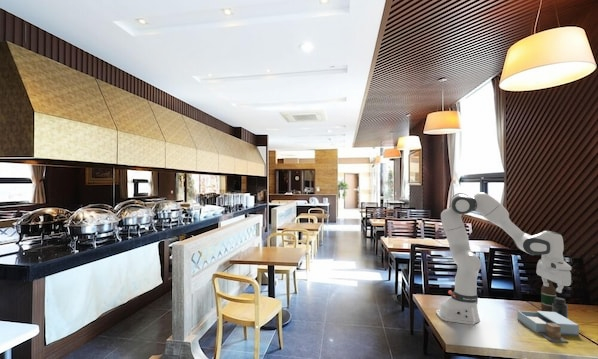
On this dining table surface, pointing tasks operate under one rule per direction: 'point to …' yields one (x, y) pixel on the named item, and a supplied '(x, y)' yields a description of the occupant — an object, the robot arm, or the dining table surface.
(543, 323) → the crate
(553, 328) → the walnut block
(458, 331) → the dining table surface
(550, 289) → the beer bottle
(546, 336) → the pad
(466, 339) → the dining table surface
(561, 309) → the supplement bottle
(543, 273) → the robot arm
